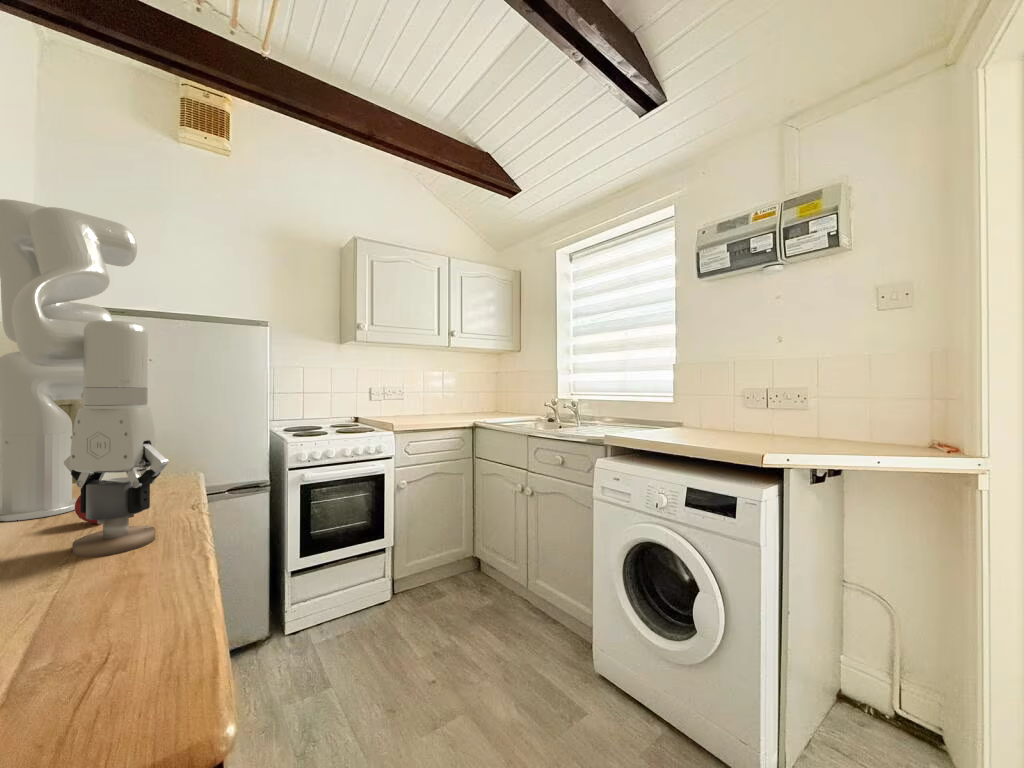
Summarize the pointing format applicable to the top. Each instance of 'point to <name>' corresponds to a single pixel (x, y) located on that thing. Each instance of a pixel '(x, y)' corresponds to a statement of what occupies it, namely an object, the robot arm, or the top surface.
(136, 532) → the post base
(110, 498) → the grey striped cylinder
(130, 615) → the top surface
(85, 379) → the robot arm
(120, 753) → the top surface
